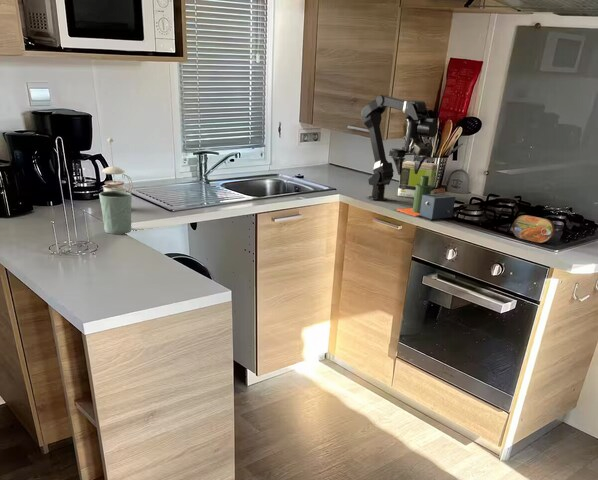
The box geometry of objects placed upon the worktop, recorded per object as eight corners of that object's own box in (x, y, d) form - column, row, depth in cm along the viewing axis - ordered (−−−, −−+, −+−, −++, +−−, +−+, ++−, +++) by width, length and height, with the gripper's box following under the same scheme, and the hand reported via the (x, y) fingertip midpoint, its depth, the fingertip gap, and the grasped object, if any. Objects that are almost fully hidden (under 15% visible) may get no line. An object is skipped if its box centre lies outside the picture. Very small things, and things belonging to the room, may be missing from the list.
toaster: (417, 216, 244) (420, 194, 239) (439, 214, 250) (443, 192, 245) (431, 221, 238) (434, 198, 234) (453, 218, 244) (457, 196, 240)
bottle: (414, 209, 254) (419, 174, 247) (428, 211, 252) (434, 176, 245) (410, 211, 249) (415, 176, 242) (425, 214, 247) (431, 178, 240)
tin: (510, 236, 223) (515, 213, 219) (514, 235, 225) (519, 212, 221) (548, 245, 214) (554, 221, 210) (552, 244, 216) (558, 220, 212)
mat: (396, 210, 252) (396, 209, 252) (421, 207, 259) (421, 207, 259) (415, 216, 244) (415, 215, 244) (440, 214, 251) (440, 213, 250)
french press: (98, 207, 229) (91, 136, 216) (127, 205, 235) (121, 135, 223) (110, 213, 222) (102, 140, 210) (139, 210, 229) (133, 139, 217)
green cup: (98, 229, 202) (94, 191, 196) (127, 225, 208) (123, 189, 202) (110, 236, 195) (106, 198, 189) (139, 232, 201) (136, 195, 195)
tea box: (433, 196, 283) (438, 163, 275) (428, 200, 275) (433, 166, 267) (402, 192, 288) (407, 159, 280) (396, 196, 280) (401, 162, 272)
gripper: (408, 137, 237) (403, 178, 244) (443, 136, 246) (437, 176, 253) (390, 133, 245) (386, 174, 253) (424, 133, 254) (419, 172, 262)
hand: (407, 174), depth 255 cm, fingers open, 9 cm apart
